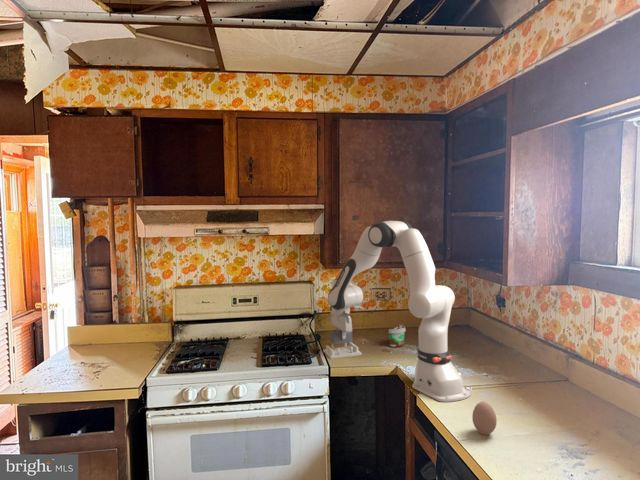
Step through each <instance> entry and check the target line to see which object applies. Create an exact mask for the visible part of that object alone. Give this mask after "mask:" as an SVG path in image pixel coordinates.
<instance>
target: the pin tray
mask: <svg viewBox="0 0 640 480" xmlns="http://www.w3.org/2000/svg"><path fill="white" fill-rule="evenodd" d="M343 345H344V346H340V347H335V344H333V343H331V346H329V345H328V344H327V345H325V349H322V351H323V353H325V355H326V356H327V357H328V358H330V360H333V359H342V358H349V357H355V356H356V357H357V356H361V355H362V354H363V353H362V352H361V351H360V350H359V346H357V345H356V344H354V343H353V342H349V345H348V343H343Z"/></svg>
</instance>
